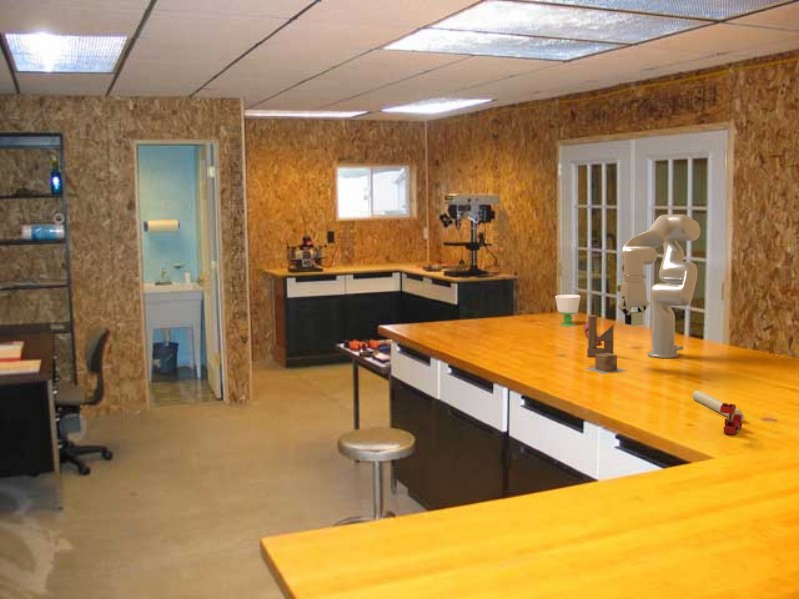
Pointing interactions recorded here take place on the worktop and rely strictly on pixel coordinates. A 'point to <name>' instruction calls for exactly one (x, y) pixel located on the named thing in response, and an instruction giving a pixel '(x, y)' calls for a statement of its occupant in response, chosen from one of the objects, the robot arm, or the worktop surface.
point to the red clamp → (731, 419)
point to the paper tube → (712, 402)
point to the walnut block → (606, 362)
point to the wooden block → (592, 338)
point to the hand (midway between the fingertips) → (633, 323)
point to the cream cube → (636, 318)
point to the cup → (567, 307)
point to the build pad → (605, 371)
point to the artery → (587, 332)
